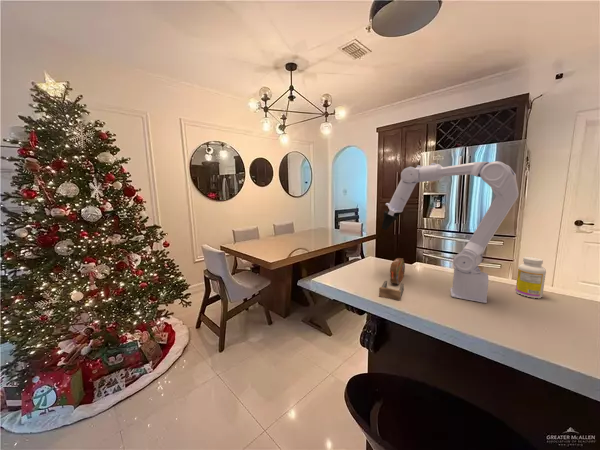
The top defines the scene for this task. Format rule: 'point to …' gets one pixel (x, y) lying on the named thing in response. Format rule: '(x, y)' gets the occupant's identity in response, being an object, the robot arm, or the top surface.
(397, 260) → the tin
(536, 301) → the top surface
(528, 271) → the supplement bottle
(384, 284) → the dock
